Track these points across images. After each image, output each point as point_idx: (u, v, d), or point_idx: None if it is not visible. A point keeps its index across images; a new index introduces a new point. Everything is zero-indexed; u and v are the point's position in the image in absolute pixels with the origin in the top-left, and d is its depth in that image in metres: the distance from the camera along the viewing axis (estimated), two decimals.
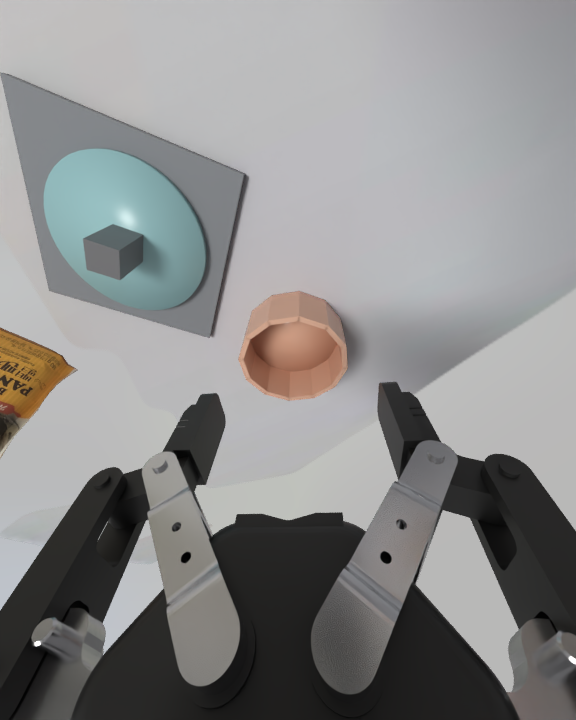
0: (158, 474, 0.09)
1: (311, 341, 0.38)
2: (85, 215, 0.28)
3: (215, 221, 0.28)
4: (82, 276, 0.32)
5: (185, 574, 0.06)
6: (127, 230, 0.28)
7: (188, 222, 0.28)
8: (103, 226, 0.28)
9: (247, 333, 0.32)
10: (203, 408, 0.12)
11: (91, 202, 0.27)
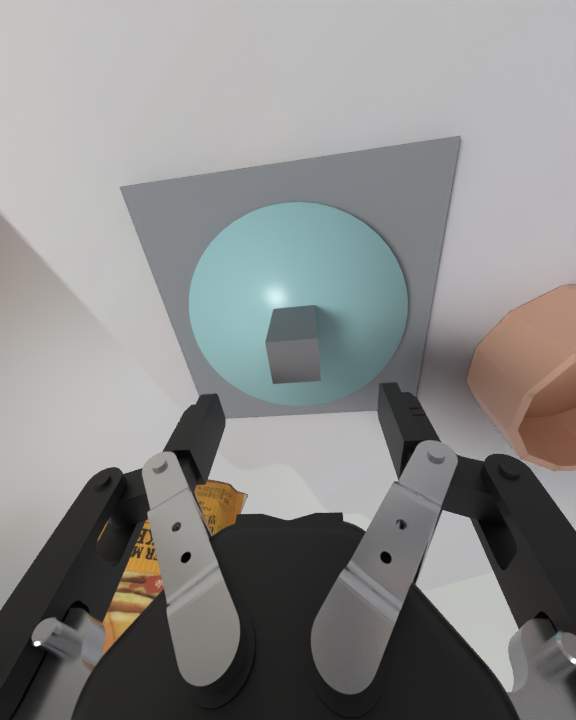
0: (158, 474, 0.09)
1: None
2: (239, 313, 0.20)
3: (414, 237, 0.18)
4: (244, 390, 0.24)
5: (185, 575, 0.06)
6: (295, 308, 0.19)
7: (379, 256, 0.18)
8: (262, 317, 0.20)
9: (522, 386, 0.18)
10: (203, 408, 0.12)
11: (244, 293, 0.19)
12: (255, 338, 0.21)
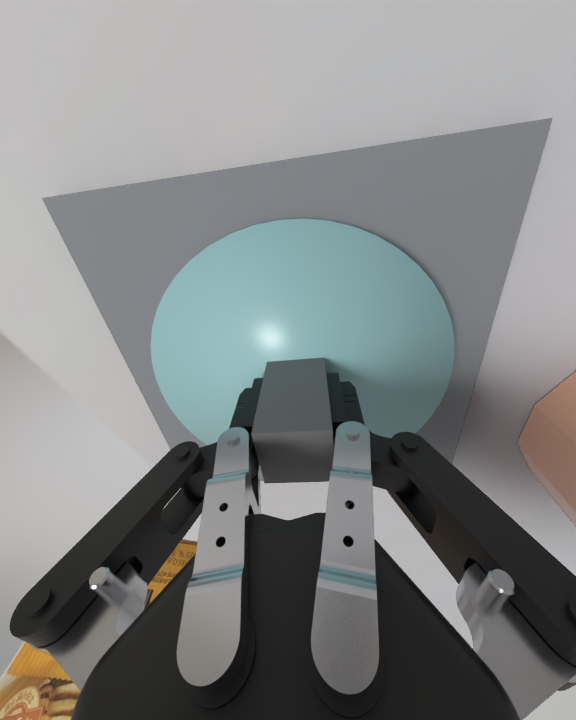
0: (235, 447, 0.10)
1: None
2: (220, 367, 0.15)
3: (467, 267, 0.12)
4: None
5: (214, 559, 0.07)
6: (297, 362, 0.14)
7: (418, 295, 0.12)
8: (251, 372, 0.15)
9: None
10: (260, 390, 0.13)
11: (226, 342, 0.14)
12: None
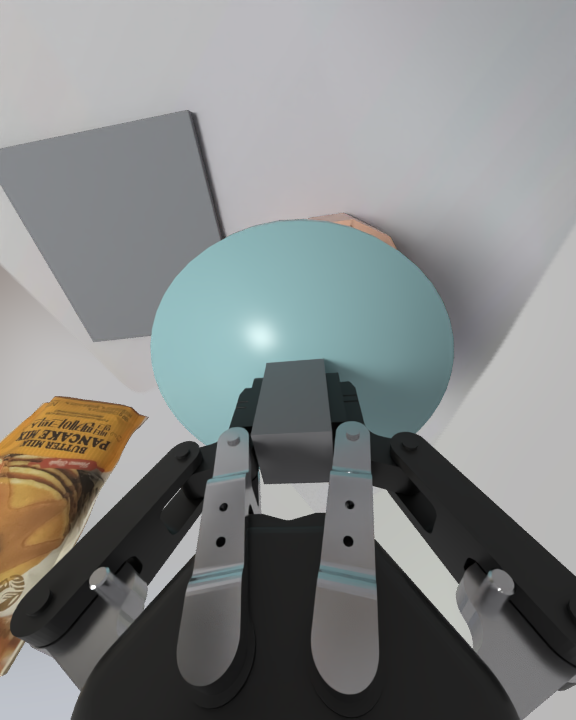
0: (235, 447, 0.10)
1: None
2: (219, 368, 0.15)
3: (187, 182, 0.26)
4: None
5: (214, 558, 0.07)
6: (296, 363, 0.14)
7: (417, 297, 0.12)
8: (251, 373, 0.15)
9: None
10: None
11: (225, 343, 0.14)
12: None
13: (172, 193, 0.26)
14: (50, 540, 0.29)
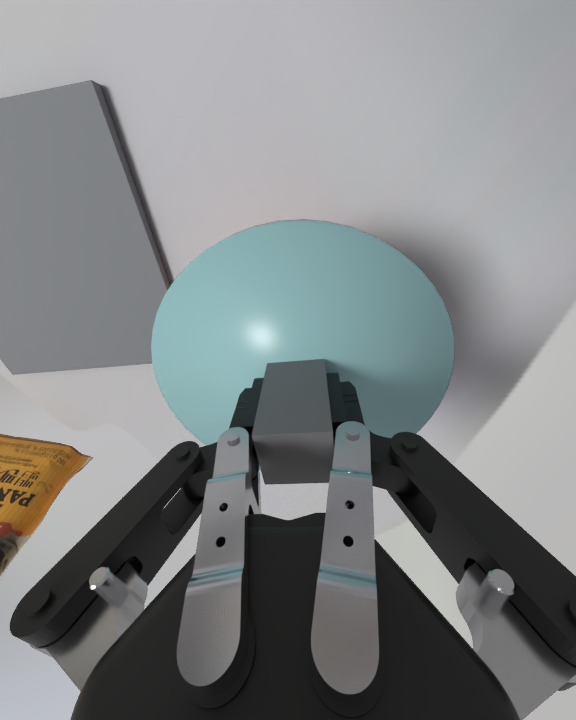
0: (235, 447, 0.10)
1: None
2: (220, 368, 0.15)
3: (102, 181, 0.19)
4: None
5: (214, 559, 0.07)
6: (297, 363, 0.14)
7: (418, 297, 0.12)
8: (252, 373, 0.15)
9: None
10: (260, 390, 0.13)
11: (226, 343, 0.14)
12: None
13: (85, 195, 0.20)
14: None
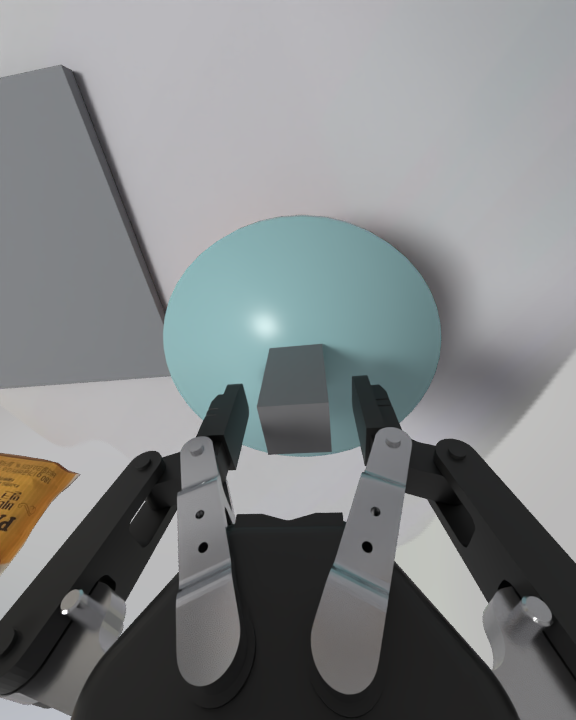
0: (196, 457, 0.10)
1: None
2: (226, 353, 0.16)
3: (78, 181, 0.17)
4: None
5: (199, 565, 0.07)
6: (297, 348, 0.15)
7: (407, 285, 0.13)
8: (255, 358, 0.16)
9: None
10: (231, 397, 0.13)
11: (232, 329, 0.15)
12: (247, 382, 0.17)
13: (59, 196, 0.18)
14: None
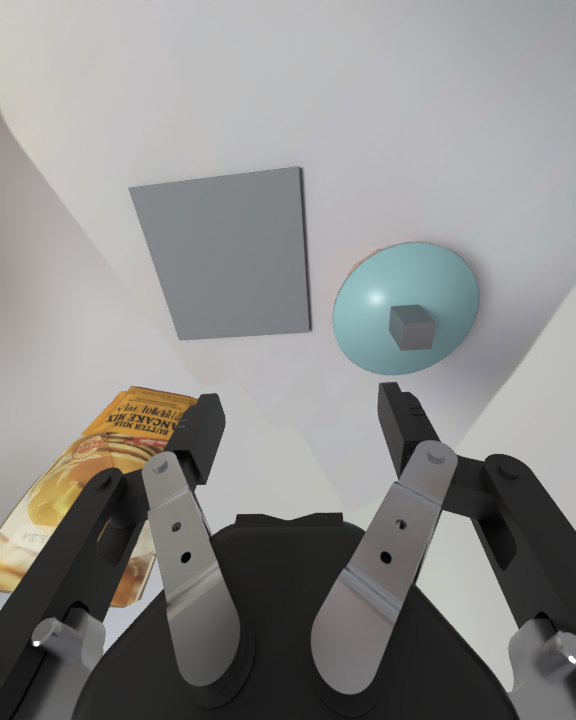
0: (158, 474, 0.09)
1: None
2: (367, 309, 0.31)
3: (287, 218, 0.33)
4: (356, 362, 0.35)
5: (185, 575, 0.06)
6: (406, 306, 0.31)
7: (464, 275, 0.29)
8: (382, 311, 0.31)
9: None
10: (203, 408, 0.12)
11: (374, 296, 0.31)
12: (373, 325, 0.32)
13: (273, 225, 0.33)
14: None
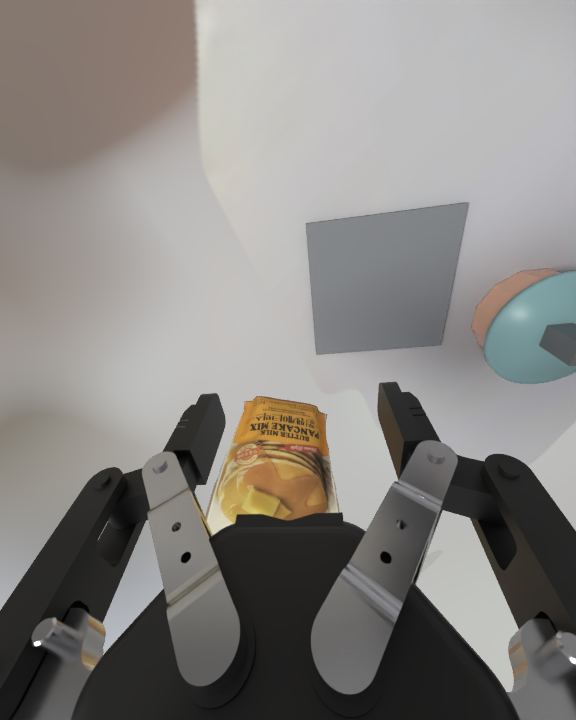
0: (158, 474, 0.09)
1: None
2: (524, 327, 0.35)
3: (445, 247, 0.36)
4: (500, 373, 0.39)
5: (185, 575, 0.06)
6: (562, 324, 0.34)
7: None
8: (537, 329, 0.35)
9: None
10: (203, 408, 0.12)
11: (534, 316, 0.34)
12: (526, 341, 0.36)
13: (431, 253, 0.37)
14: (322, 502, 0.39)
